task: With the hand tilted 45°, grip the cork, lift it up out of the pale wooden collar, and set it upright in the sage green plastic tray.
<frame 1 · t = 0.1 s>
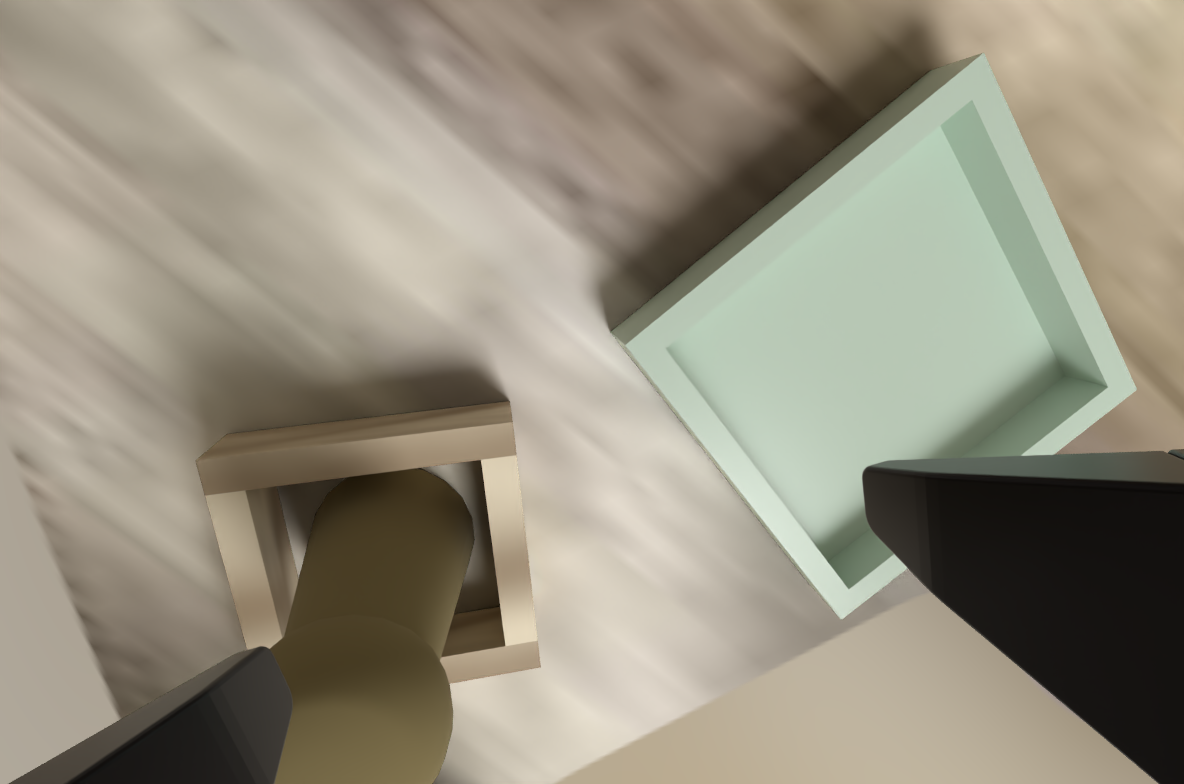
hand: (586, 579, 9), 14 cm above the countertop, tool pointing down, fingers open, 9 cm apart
sage green tray: (864, 355, 25), on the countertop
wooden collar: (394, 538, 24), on the countertop
cork: (395, 535, 24), resting in wooden collar
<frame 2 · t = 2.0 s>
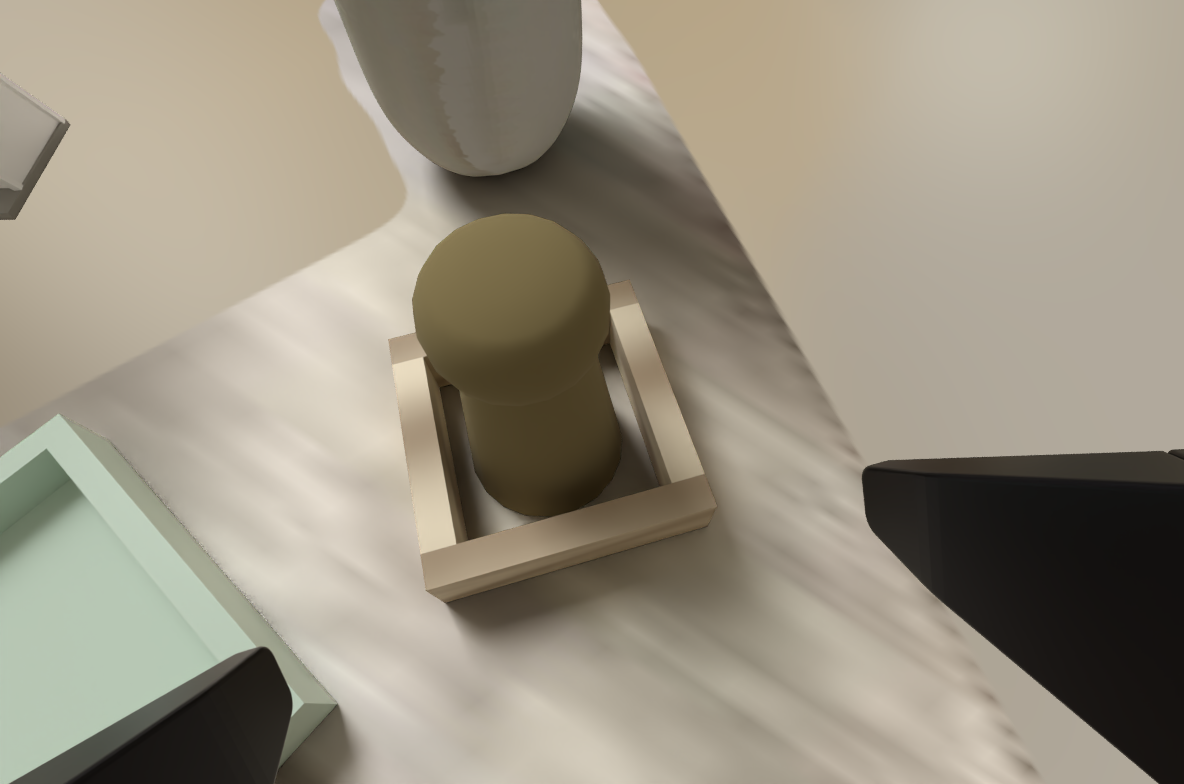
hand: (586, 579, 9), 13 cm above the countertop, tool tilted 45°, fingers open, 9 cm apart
sage green tray: (17, 733, 20), on the countertop
wooden collar: (546, 442, 25), on the countertop
skyscraper: (0, 163, 33), on the countertop
cork: (547, 445, 25), resting in wooden collar
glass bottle: (493, 144, 33), on the countertop
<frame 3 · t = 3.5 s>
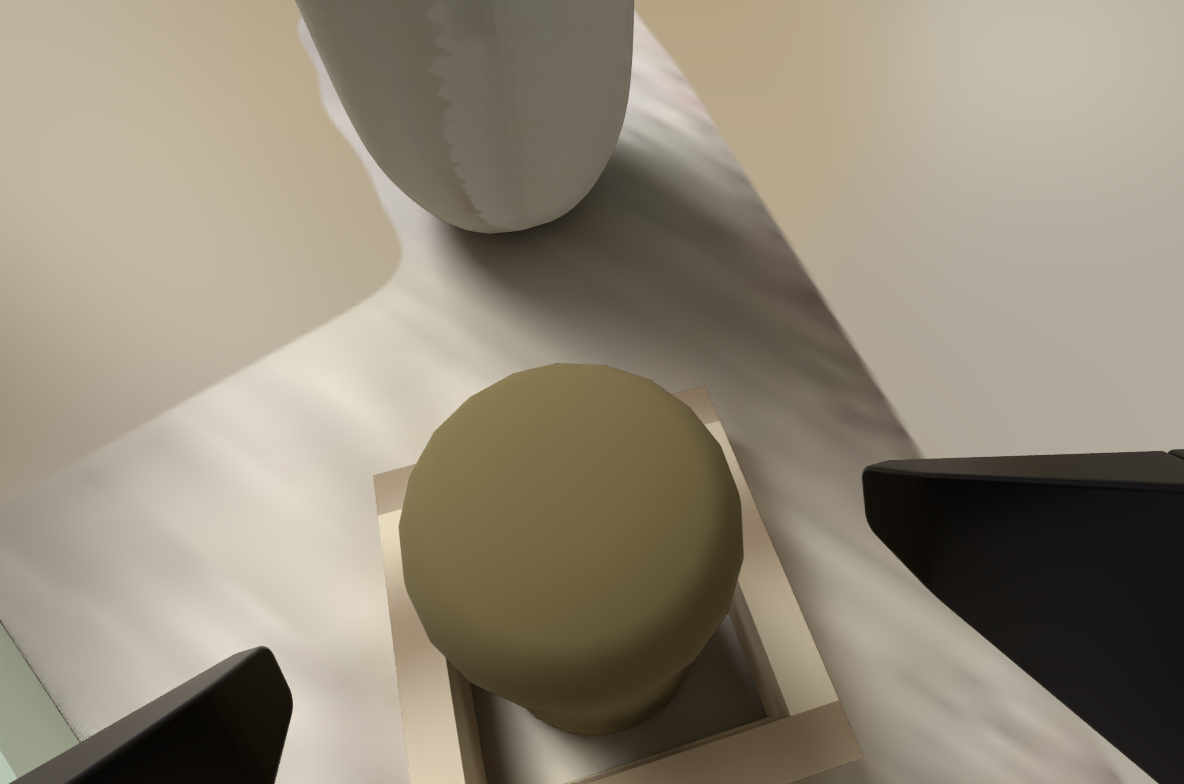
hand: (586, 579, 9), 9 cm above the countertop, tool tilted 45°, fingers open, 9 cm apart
wooden collar: (593, 615, 18), on the countertop
cork: (593, 616, 18), resting in wooden collar
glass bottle: (510, 187, 26), on the countertop
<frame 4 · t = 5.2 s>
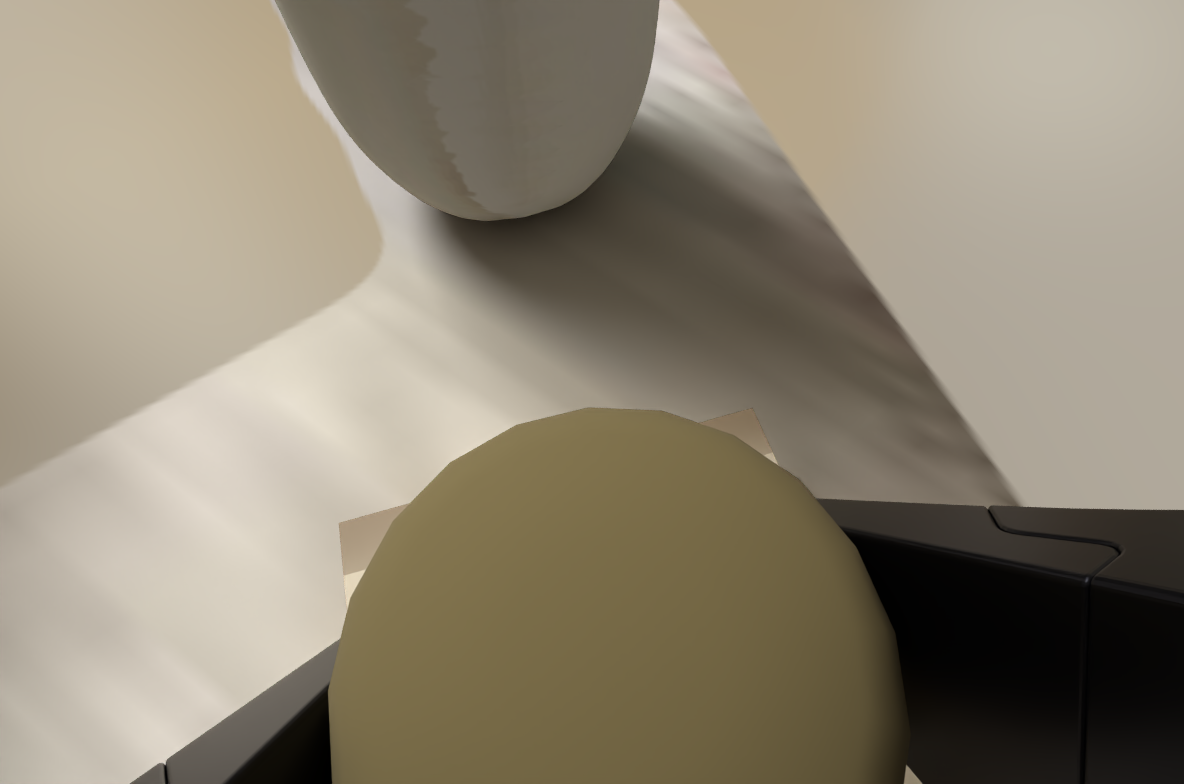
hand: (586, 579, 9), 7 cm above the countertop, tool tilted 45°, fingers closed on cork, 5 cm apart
wooden collar: (614, 695, 14), on the countertop
cork: (614, 695, 14), resting in wooden collar, touching gripper
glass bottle: (510, 168, 23), on the countertop
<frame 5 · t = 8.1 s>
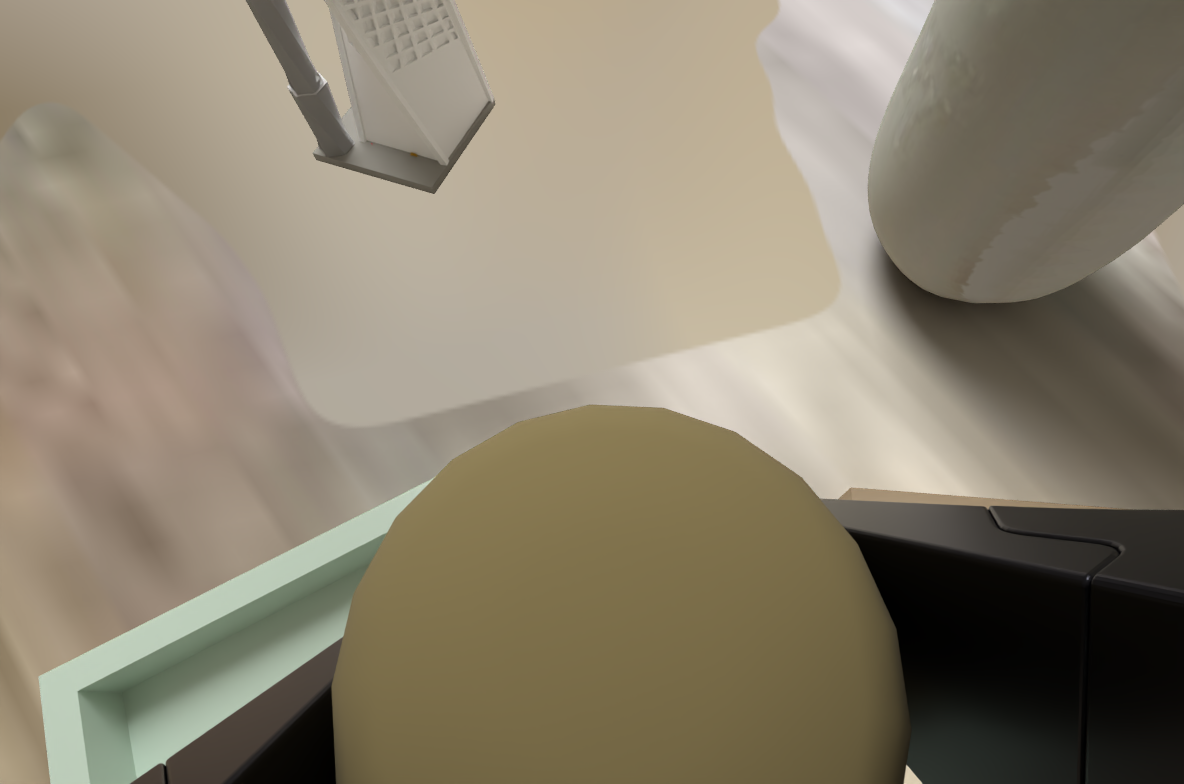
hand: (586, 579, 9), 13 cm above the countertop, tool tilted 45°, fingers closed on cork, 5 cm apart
wooden collar: (993, 667, 20), on the countertop
skyscraper: (424, 128, 33), on the countertop
cork: (615, 692, 14), point 6 cm above the countertop, touching gripper
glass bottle: (944, 252, 28), on the countertop
when the fingers open (8 cm above the countertop, at t = 10.8 s): cork drops 1 cm, resting on sage green tray.
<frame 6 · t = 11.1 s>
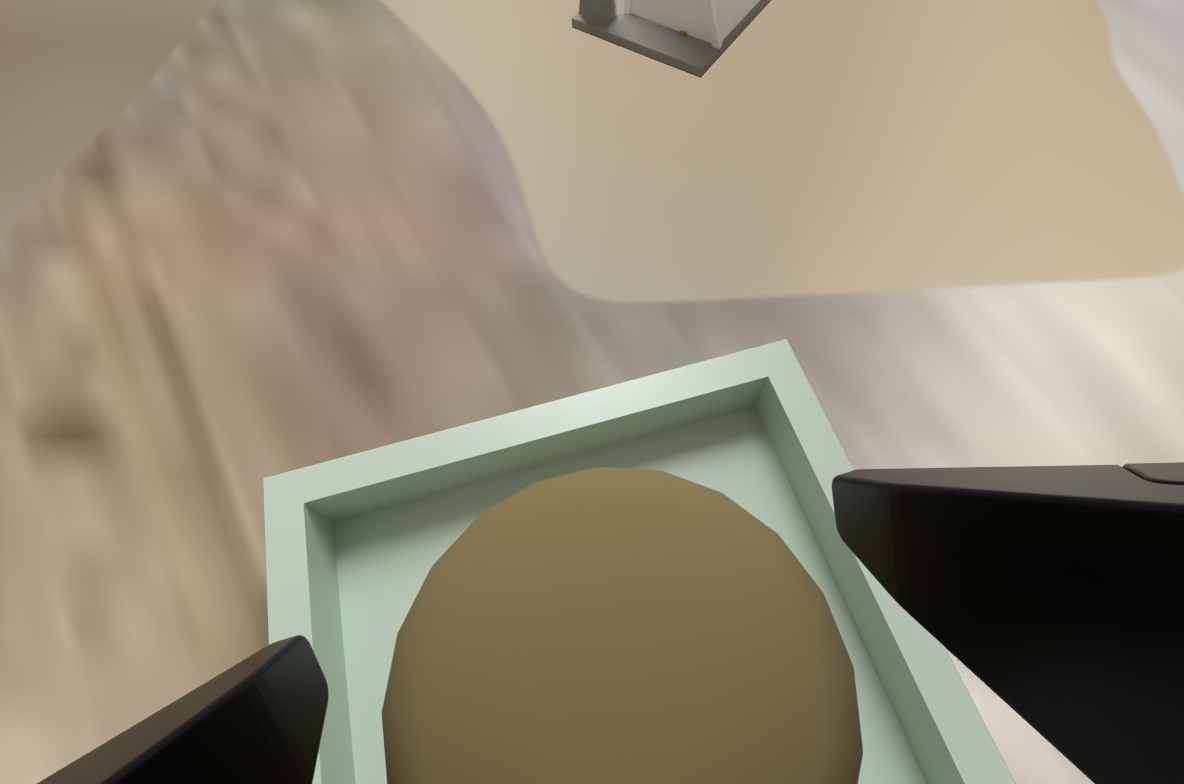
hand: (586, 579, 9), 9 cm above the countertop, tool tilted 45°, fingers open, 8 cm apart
sage green tray: (614, 696, 16), on the countertop
skyscraper: (690, 12, 30), on the countertop
cork: (616, 700, 16), resting on sage green tray
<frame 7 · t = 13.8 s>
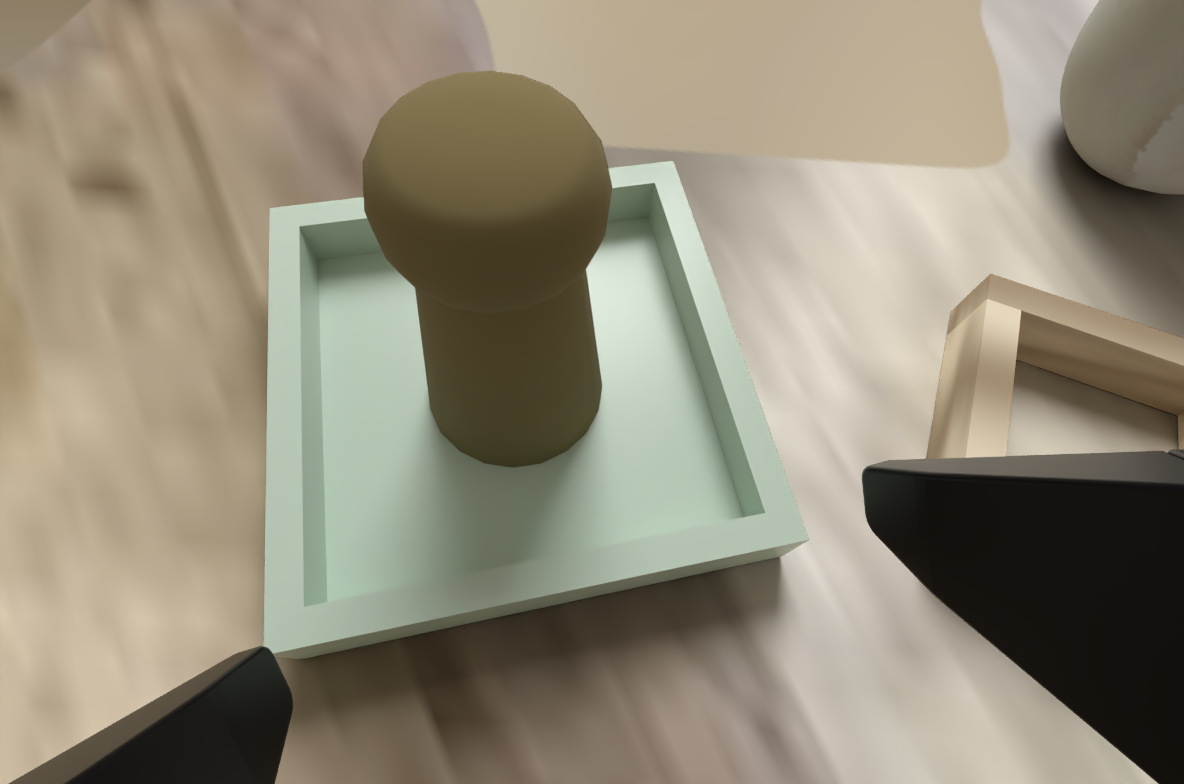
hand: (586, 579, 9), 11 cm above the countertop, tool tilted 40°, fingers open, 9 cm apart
sage green tray: (515, 390, 22), on the countertop
wooden collar: (1071, 466, 22), on the countertop
cork: (516, 387, 22), resting on sage green tray
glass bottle: (1114, 154, 29), on the countertop
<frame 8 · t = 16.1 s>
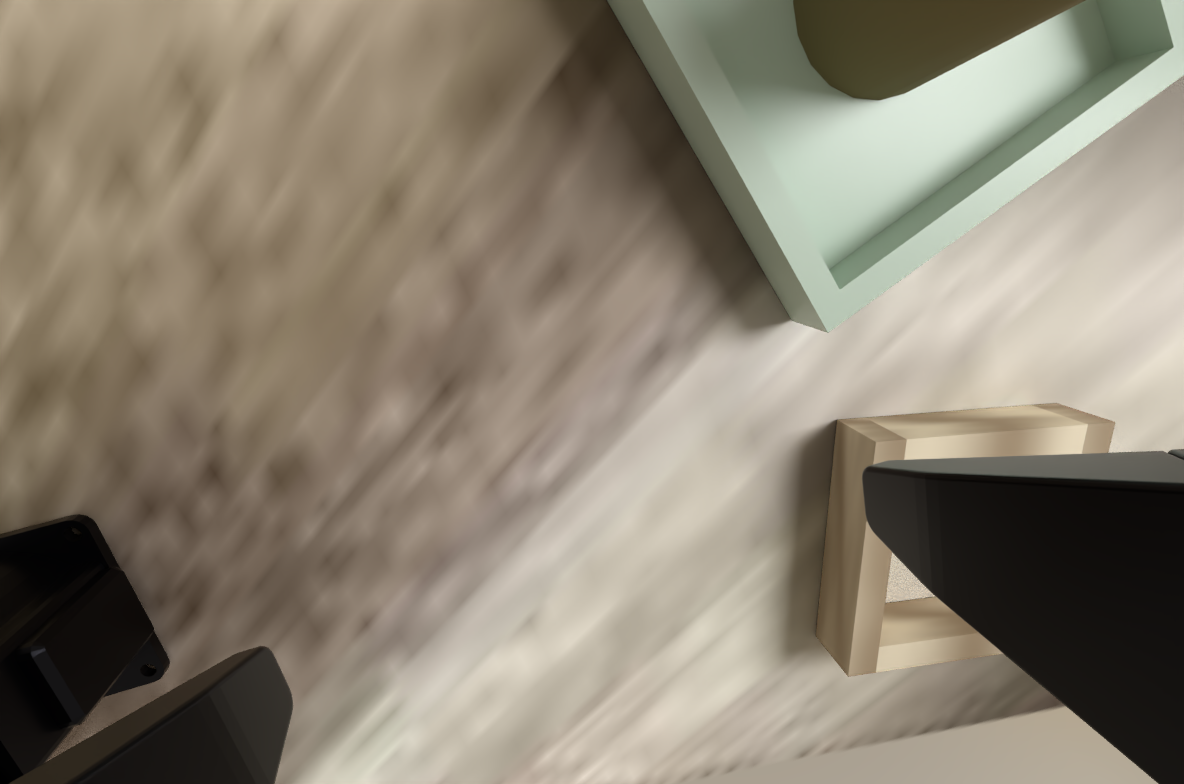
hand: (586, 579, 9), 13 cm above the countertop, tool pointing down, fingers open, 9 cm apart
wooden collar: (933, 522, 26), on the countertop
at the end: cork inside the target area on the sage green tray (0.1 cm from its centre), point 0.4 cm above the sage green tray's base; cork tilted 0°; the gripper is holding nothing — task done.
